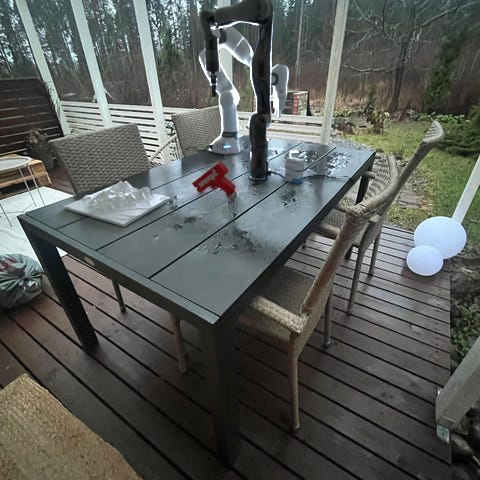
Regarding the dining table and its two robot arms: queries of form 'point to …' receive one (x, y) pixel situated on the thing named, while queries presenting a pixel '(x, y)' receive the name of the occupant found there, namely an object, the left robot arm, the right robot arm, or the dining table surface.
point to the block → (294, 154)
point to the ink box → (294, 170)
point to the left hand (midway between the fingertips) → (277, 116)
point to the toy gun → (215, 180)
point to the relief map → (118, 203)
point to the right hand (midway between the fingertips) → (214, 96)
